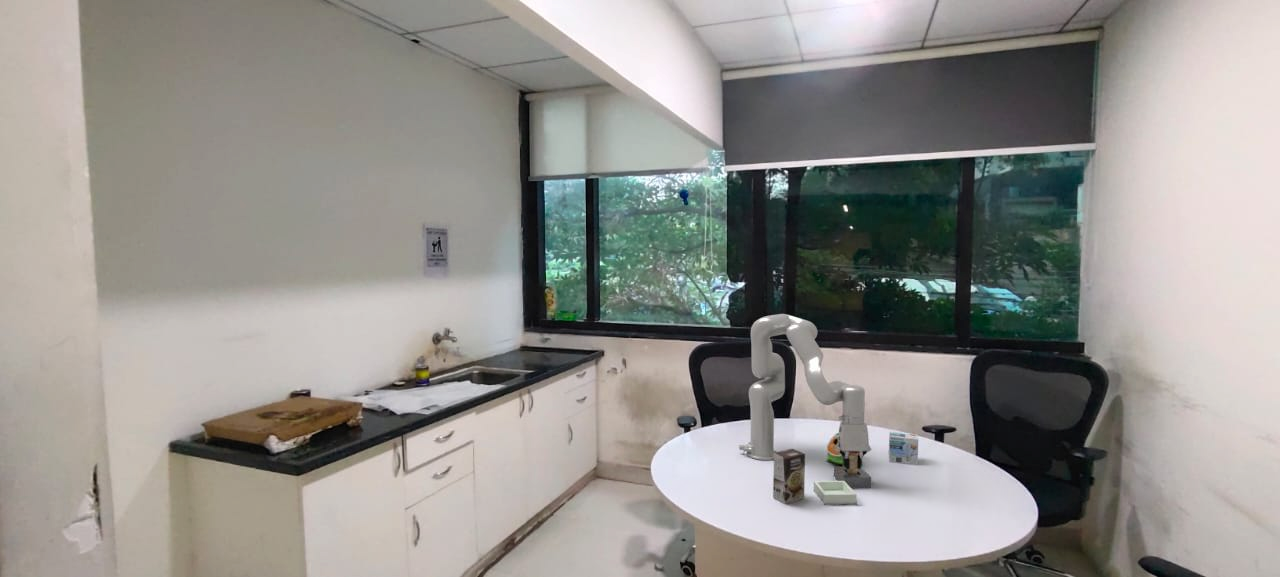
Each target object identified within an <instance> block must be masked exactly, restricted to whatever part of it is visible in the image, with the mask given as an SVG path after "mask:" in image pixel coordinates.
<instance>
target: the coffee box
mask: <svg viewBox="0 0 1280 577" xmlns="http://www.w3.org/2000/svg"><path fill="white" fill-rule="evenodd" d="M805 471H806V454H805V453H804V452H802V451H800V450H796V449H794V448H790V449H785V450H781V451H776V452H775V453H774V459H773V481H772V482H773V484H772V485H773V486H772V498H773V499H776V500H778V501H779V502H781V503H783V504H784V505H786V504H789V503H793V501H794V502H797V501H799V500H804V499H805V480H806V479H805V476H806V475H805V474H806V473H805Z"/></svg>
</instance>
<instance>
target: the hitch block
mask: <svg viewBox="0 0 1280 577" xmlns="http://www.w3.org/2000/svg"><path fill="white" fill-rule="evenodd" d="M834 477H835V478H834ZM833 478H834V480H835V481H845V482H846V483H847V484H848V486H849V487H850V488H851V489H872V476H871V475H869V474H868V472H867V471H865V470H864V468H862V467H861V469H858V468H857V475H848V474H847V469H846V468H845V467H842V466H833Z"/></svg>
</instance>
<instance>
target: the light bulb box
mask: <svg viewBox="0 0 1280 577" xmlns="http://www.w3.org/2000/svg"><path fill="white" fill-rule="evenodd" d="M888 441H889V442H888V462H889V463H897V464H902V465H903V464H905V465H911V466H918V462H919V460H918V459H919V456H918V455H919V436H918V434H915V433H906V432H898V431H897V432H895V431H889V440H888Z"/></svg>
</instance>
